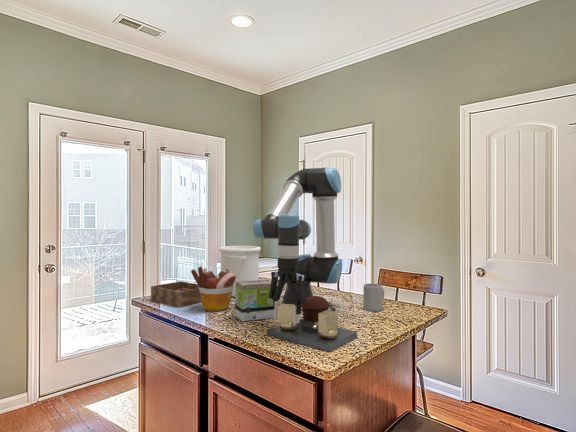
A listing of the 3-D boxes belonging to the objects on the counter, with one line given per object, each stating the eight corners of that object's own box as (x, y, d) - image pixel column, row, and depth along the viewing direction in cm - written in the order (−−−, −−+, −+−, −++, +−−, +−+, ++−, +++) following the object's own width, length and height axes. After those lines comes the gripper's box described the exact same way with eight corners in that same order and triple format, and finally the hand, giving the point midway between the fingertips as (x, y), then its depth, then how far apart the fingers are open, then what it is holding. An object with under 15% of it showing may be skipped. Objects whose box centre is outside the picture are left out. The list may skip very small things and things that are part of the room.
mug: (374, 312, 164) (374, 287, 164) (359, 308, 170) (359, 284, 170) (390, 308, 171) (391, 284, 171) (375, 304, 178) (376, 281, 178)
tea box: (242, 322, 147) (243, 285, 147) (234, 316, 156) (234, 281, 156) (277, 318, 154) (277, 282, 154) (267, 312, 163) (267, 278, 163)
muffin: (308, 327, 141) (308, 300, 141) (295, 319, 152) (295, 295, 152) (335, 323, 146) (335, 298, 146) (321, 316, 156) (321, 292, 156)
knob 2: (329, 340, 119) (330, 313, 119) (314, 336, 123) (314, 310, 123) (342, 334, 126) (342, 309, 126) (326, 331, 129) (327, 306, 129)
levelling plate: (266, 335, 131) (266, 323, 131) (296, 323, 146) (296, 312, 146) (330, 351, 116) (330, 338, 116) (356, 337, 130) (357, 325, 130)
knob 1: (276, 329, 130) (276, 305, 130) (277, 324, 136) (277, 301, 136) (299, 330, 130) (299, 305, 130) (299, 325, 136) (299, 301, 136)
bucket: (258, 299, 188) (258, 249, 188) (214, 298, 188) (214, 249, 188) (262, 289, 214) (262, 245, 214) (223, 288, 214) (223, 245, 214)
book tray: (150, 300, 184) (151, 286, 184) (181, 294, 198) (181, 281, 198) (179, 307, 170) (179, 292, 170) (210, 300, 184) (210, 286, 184)
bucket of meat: (220, 301, 182) (221, 261, 182) (243, 307, 171) (243, 264, 171) (185, 309, 167) (185, 265, 167) (207, 316, 156) (208, 268, 156)
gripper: (318, 258, 130) (316, 324, 129) (272, 254, 142) (271, 314, 142) (305, 260, 124) (304, 329, 123) (259, 255, 136) (258, 318, 136)
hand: (286, 321), depth 133 cm, fingers closed on knob 1, 8 cm apart
